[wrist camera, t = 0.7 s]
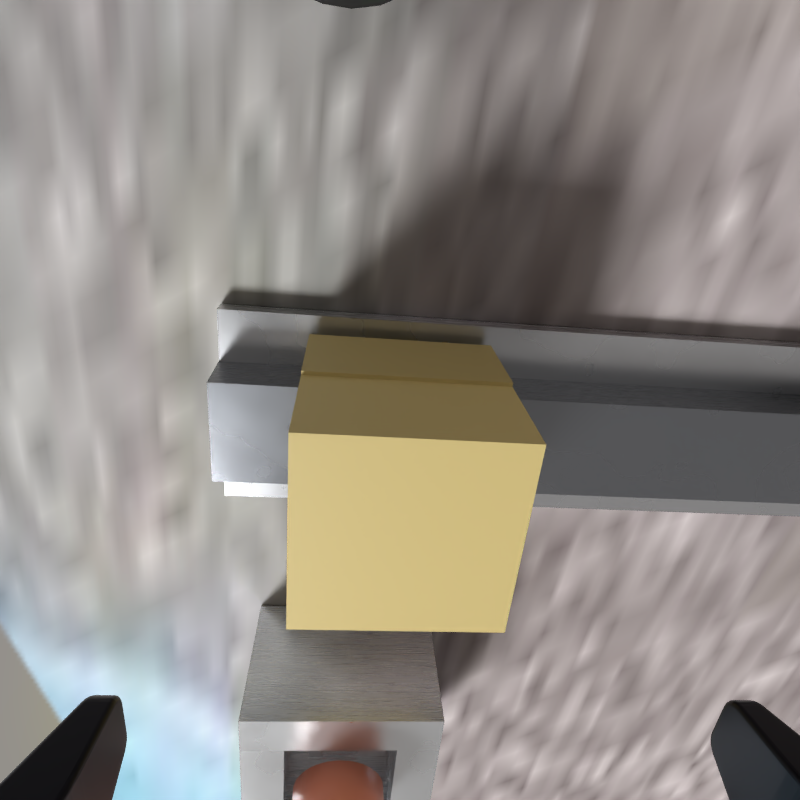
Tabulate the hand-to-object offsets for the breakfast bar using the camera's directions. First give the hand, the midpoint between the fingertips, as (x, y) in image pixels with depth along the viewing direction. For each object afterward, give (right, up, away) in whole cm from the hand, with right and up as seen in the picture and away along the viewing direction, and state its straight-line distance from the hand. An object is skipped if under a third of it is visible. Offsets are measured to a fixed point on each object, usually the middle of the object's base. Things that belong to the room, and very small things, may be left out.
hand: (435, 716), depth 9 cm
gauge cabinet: (-3, -6, +14) cm, 15 cm away
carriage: (-1, +4, +9) cm, 10 cm away
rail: (+5, +4, +10) cm, 12 cm away
